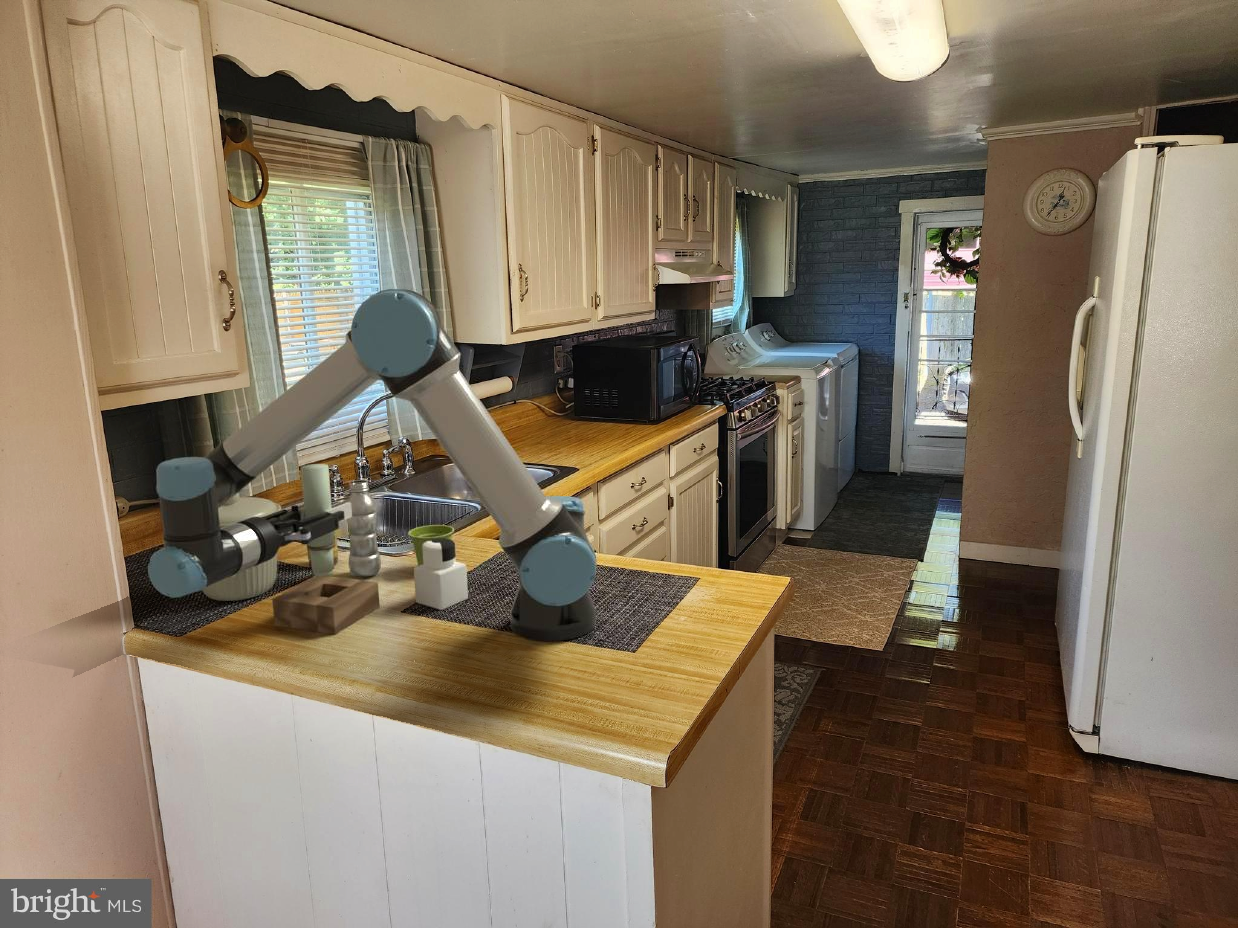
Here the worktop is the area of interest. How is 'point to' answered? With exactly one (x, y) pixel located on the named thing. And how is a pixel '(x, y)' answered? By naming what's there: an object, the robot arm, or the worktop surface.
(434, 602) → the medicine bottle
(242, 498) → the canister
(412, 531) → the plant pot
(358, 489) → the plastic bottle
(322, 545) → the stool leg
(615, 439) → the worktop surface
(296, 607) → the wooden holder block
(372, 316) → the robot arm
